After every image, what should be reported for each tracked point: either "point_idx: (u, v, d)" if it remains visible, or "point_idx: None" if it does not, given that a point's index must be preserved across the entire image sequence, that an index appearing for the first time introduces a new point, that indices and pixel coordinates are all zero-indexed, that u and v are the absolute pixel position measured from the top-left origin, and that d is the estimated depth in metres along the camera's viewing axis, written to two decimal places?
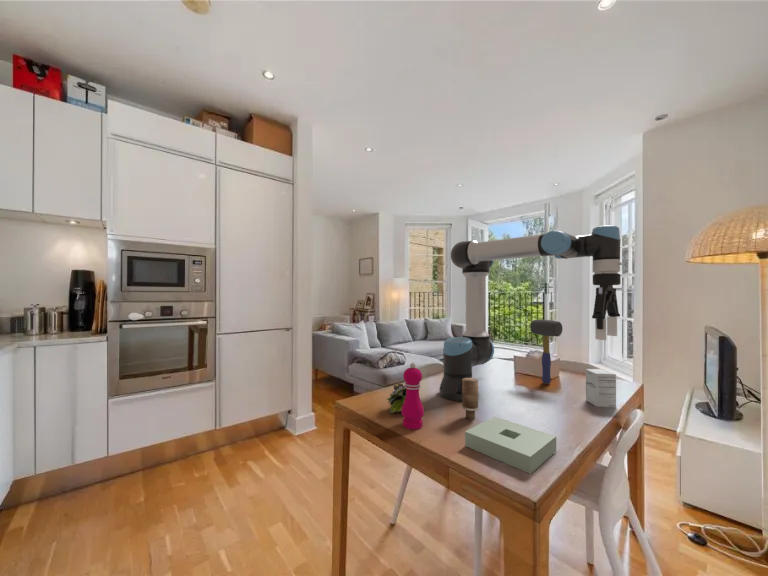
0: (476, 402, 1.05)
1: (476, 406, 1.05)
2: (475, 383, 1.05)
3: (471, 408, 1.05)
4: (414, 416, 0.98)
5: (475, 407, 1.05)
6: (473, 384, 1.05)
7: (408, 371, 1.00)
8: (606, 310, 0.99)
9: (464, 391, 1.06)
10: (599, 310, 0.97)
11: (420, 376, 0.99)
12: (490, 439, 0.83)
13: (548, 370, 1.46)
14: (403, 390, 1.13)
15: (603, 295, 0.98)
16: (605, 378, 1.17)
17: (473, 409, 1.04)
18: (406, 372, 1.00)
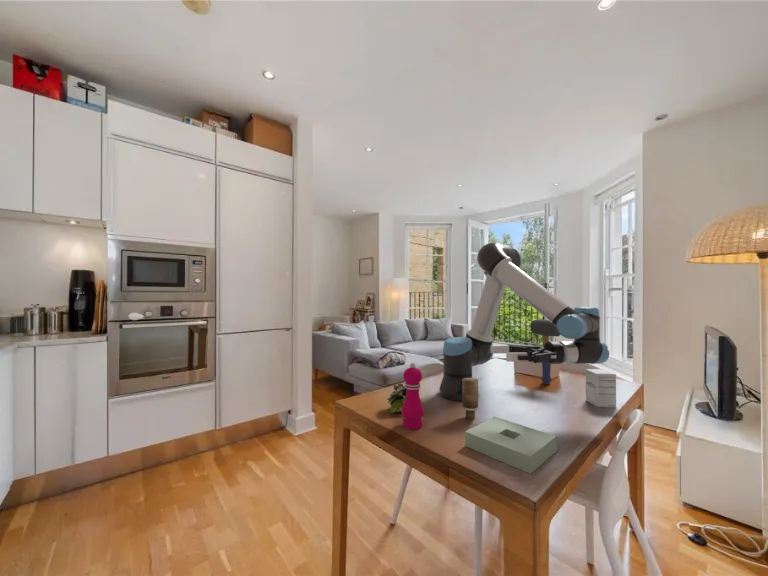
0: (476, 402, 1.05)
1: (476, 406, 1.05)
2: (475, 383, 1.05)
3: (471, 408, 1.05)
4: (414, 416, 0.98)
5: (475, 407, 1.05)
6: (473, 384, 1.05)
7: (408, 371, 1.00)
8: None
9: (464, 391, 1.06)
10: (539, 359, 0.98)
11: (420, 376, 0.99)
12: (490, 439, 0.83)
13: (548, 370, 1.46)
14: (403, 390, 1.13)
15: (550, 359, 1.01)
16: (605, 378, 1.17)
17: (473, 409, 1.04)
18: (406, 372, 1.00)
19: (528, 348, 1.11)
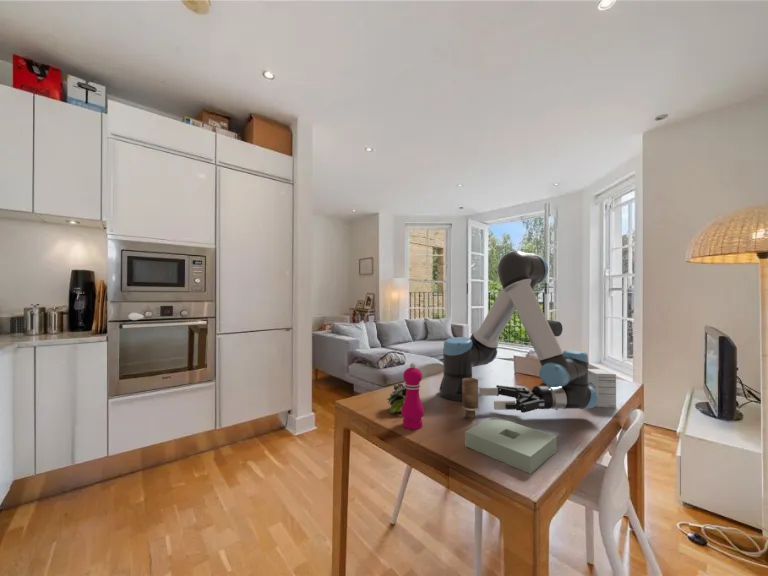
0: (476, 402, 1.05)
1: (476, 406, 1.05)
2: (475, 383, 1.05)
3: (471, 408, 1.05)
4: (414, 416, 0.98)
5: (475, 407, 1.05)
6: (473, 384, 1.05)
7: (408, 371, 1.00)
8: None
9: (464, 391, 1.06)
10: (527, 409, 0.97)
11: (420, 376, 0.99)
12: (490, 439, 0.83)
13: None
14: (403, 390, 1.13)
15: (538, 407, 1.00)
16: (605, 378, 1.17)
17: (473, 409, 1.04)
18: (406, 372, 1.00)
19: (517, 391, 1.10)
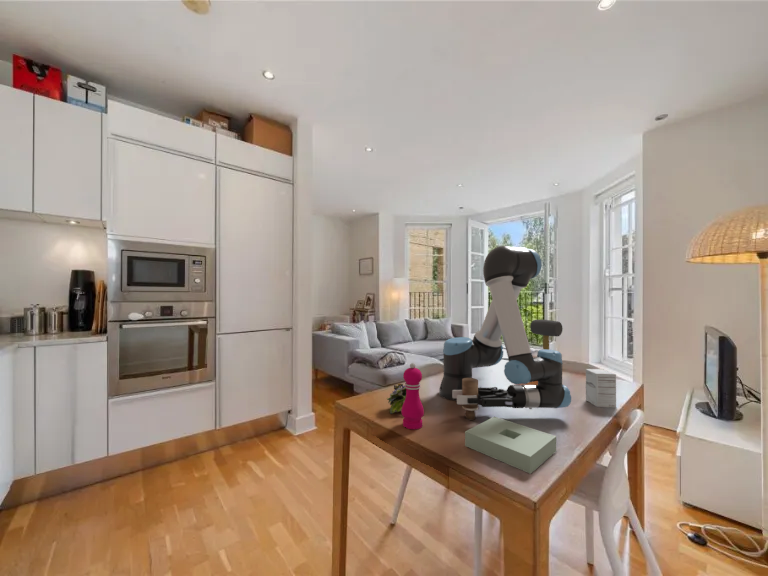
0: None
1: (476, 406, 1.05)
2: (475, 383, 1.05)
3: (471, 408, 1.05)
4: (414, 416, 0.98)
5: (475, 407, 1.05)
6: (473, 384, 1.05)
7: (408, 371, 1.00)
8: None
9: (464, 391, 1.06)
10: (488, 404, 1.01)
11: (420, 376, 0.99)
12: (490, 439, 0.83)
13: None
14: (403, 390, 1.13)
15: (503, 405, 1.01)
16: (605, 378, 1.17)
17: (473, 409, 1.04)
18: (406, 372, 1.00)
19: (492, 392, 1.09)
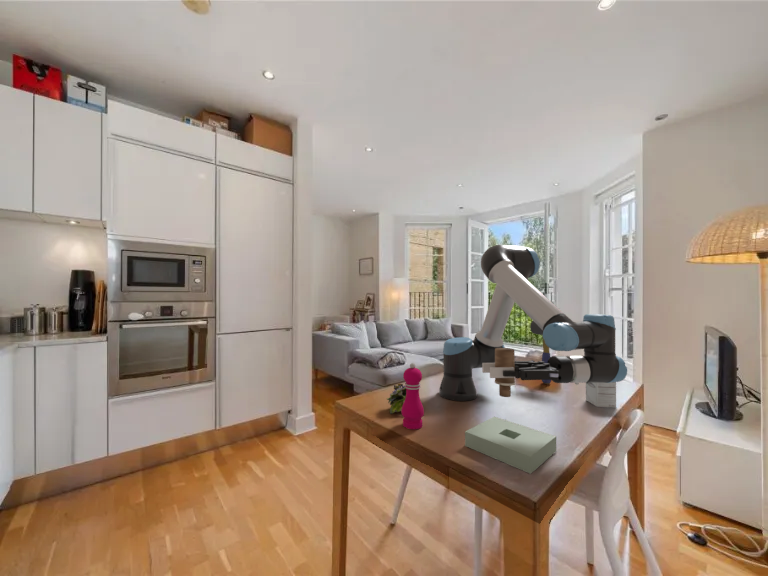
0: None
1: (513, 380, 0.87)
2: (511, 352, 0.87)
3: (507, 383, 0.87)
4: (414, 416, 0.98)
5: (512, 381, 0.87)
6: (509, 354, 0.87)
7: (408, 371, 1.00)
8: None
9: (498, 363, 0.88)
10: (529, 376, 0.83)
11: (420, 376, 0.99)
12: (490, 439, 0.83)
13: None
14: (403, 390, 1.14)
15: (548, 378, 0.83)
16: None
17: (509, 384, 0.87)
18: (406, 372, 1.00)
19: (530, 365, 0.91)
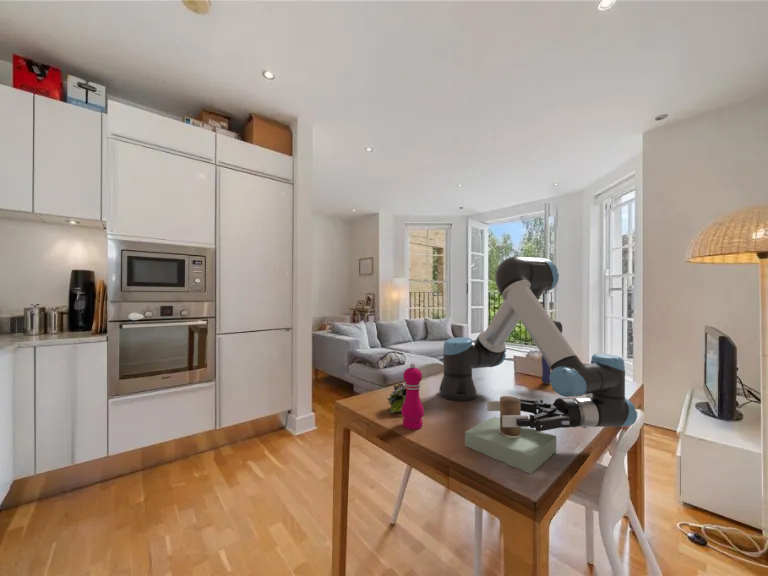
0: (519, 427, 0.84)
1: (519, 432, 0.84)
2: (517, 404, 0.84)
3: (513, 435, 0.84)
4: (414, 416, 0.98)
5: (517, 434, 0.84)
6: (515, 405, 0.84)
7: (408, 371, 1.00)
8: None
9: (503, 413, 0.85)
10: (544, 427, 0.78)
11: (420, 376, 0.99)
12: (490, 439, 0.83)
13: (548, 370, 1.46)
14: (403, 390, 1.13)
15: (560, 426, 0.80)
16: None
17: (515, 436, 0.84)
18: (406, 372, 1.00)
19: (535, 405, 0.89)
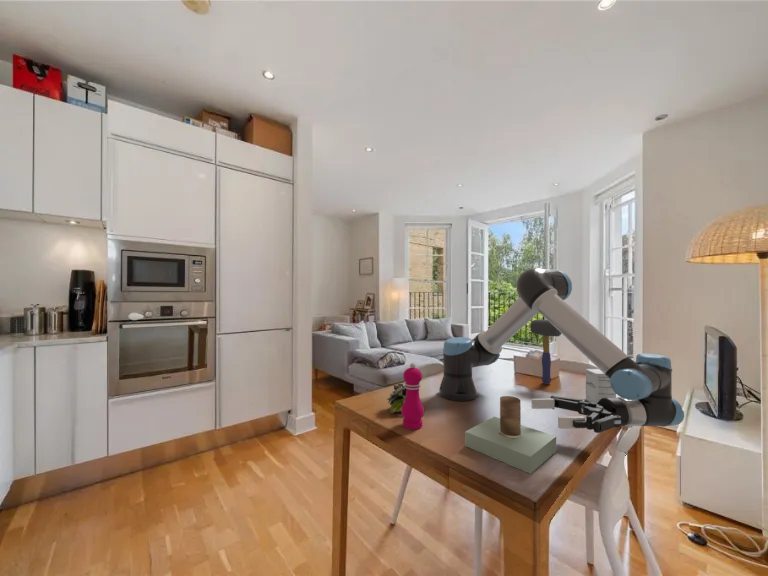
0: (519, 427, 0.84)
1: (519, 432, 0.84)
2: (517, 404, 0.84)
3: (513, 435, 0.84)
4: (414, 416, 0.98)
5: (517, 434, 0.84)
6: (515, 405, 0.84)
7: (408, 371, 1.00)
8: None
9: (503, 413, 0.85)
10: (602, 428, 0.77)
11: (420, 376, 0.99)
12: (490, 439, 0.83)
13: (548, 370, 1.46)
14: (403, 390, 1.14)
15: (613, 426, 0.80)
16: (605, 378, 1.17)
17: (515, 436, 0.84)
18: (406, 372, 1.00)
19: (579, 404, 0.90)
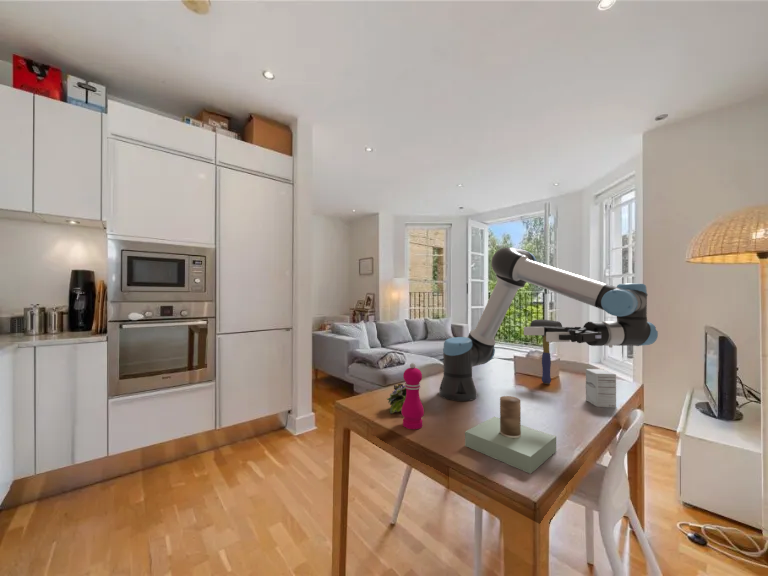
0: (519, 427, 0.84)
1: (519, 432, 0.84)
2: (517, 404, 0.84)
3: (513, 435, 0.84)
4: (414, 416, 0.98)
5: (517, 434, 0.84)
6: (515, 405, 0.84)
7: (408, 371, 1.00)
8: None
9: (503, 413, 0.85)
10: (584, 339, 0.89)
11: (420, 376, 0.99)
12: (490, 439, 0.83)
13: (548, 370, 1.46)
14: (403, 390, 1.14)
15: (594, 339, 0.91)
16: (605, 378, 1.17)
17: (515, 436, 0.84)
18: (406, 372, 1.00)
19: (566, 329, 1.01)
